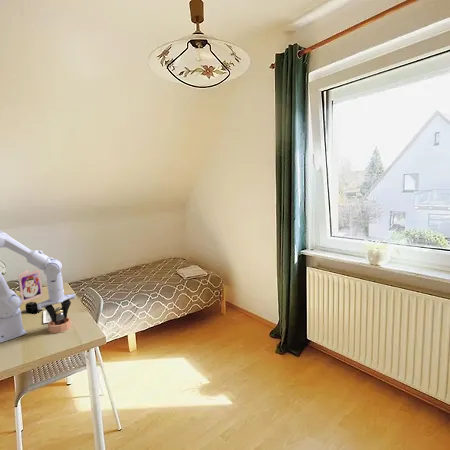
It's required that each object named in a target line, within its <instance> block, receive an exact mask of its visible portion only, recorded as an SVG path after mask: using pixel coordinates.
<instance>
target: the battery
mask: <svg viewBox="0 0 450 450" xmlns="http://www.w3.org/2000/svg"><path fill="white" fill-rule="evenodd" d="M54 315H55V322H54V323H55V325H61V324H63V323H65V316H64V308H61V307H56V308H54Z"/></svg>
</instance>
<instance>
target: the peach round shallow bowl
mask: <svg viewBox="0 0 450 450" xmlns="http://www.w3.org/2000/svg"><path fill="white" fill-rule="evenodd" d="M72 326H73V325H72V318H71V317H69V316H67V318H65V323H63V324H61V325H55V323H54V322H52V320H51V321H50V322H47V330H48V332H49V333H50V334H57V333H59V334H60V333H63V332H67V331H68V330H70V329H71V328H72Z"/></svg>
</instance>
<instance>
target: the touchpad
mask: <svg viewBox="0 0 450 450" xmlns="http://www.w3.org/2000/svg"><path fill="white" fill-rule="evenodd" d="M60 308H62V306H61V307H60ZM42 312H43V313H42V314H43V316H42V319H43V320H42V322H43V324H48V323H49V322H50V321H51V317H50V315H49V313H48V312H47V310H46V309H45V310H43V311H42Z"/></svg>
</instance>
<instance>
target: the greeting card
mask: <svg viewBox="0 0 450 450" xmlns="http://www.w3.org/2000/svg"><path fill="white" fill-rule="evenodd" d="M18 282H19V289H20V298H21V300H22V304H24V303H28V302H29V301H30V302H31V301H32V300H34V299H38V298H40V297H42V296H44V295H43V293H44V292H43V286H42V277H41V269H39V268H38V269H36V270H33V271H29V269H26V270H25V271H23V272H21V273H20V274H18Z"/></svg>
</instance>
